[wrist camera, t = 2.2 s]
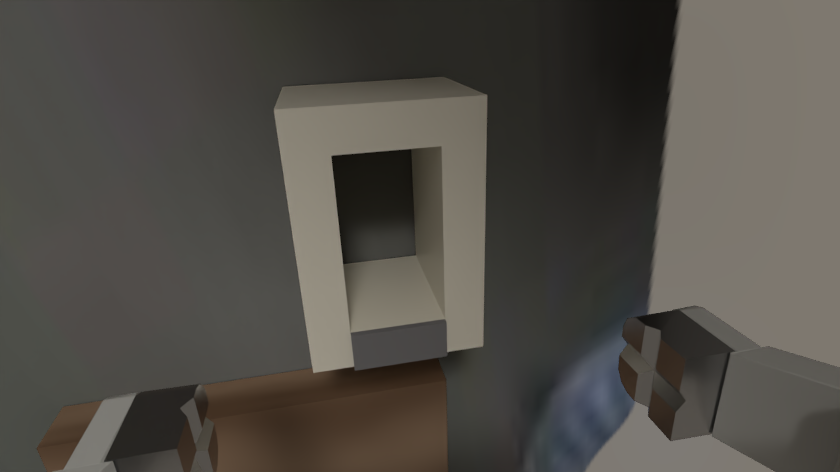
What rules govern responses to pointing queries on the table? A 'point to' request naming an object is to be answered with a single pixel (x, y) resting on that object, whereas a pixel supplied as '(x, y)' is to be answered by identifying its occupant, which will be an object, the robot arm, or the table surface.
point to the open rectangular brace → (433, 218)
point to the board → (310, 421)
